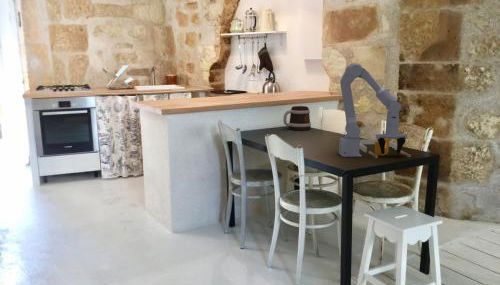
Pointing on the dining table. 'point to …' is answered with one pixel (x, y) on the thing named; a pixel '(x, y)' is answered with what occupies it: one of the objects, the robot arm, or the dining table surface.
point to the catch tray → (374, 143)
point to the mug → (298, 118)
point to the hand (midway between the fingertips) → (390, 153)
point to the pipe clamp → (378, 149)
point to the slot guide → (400, 152)
